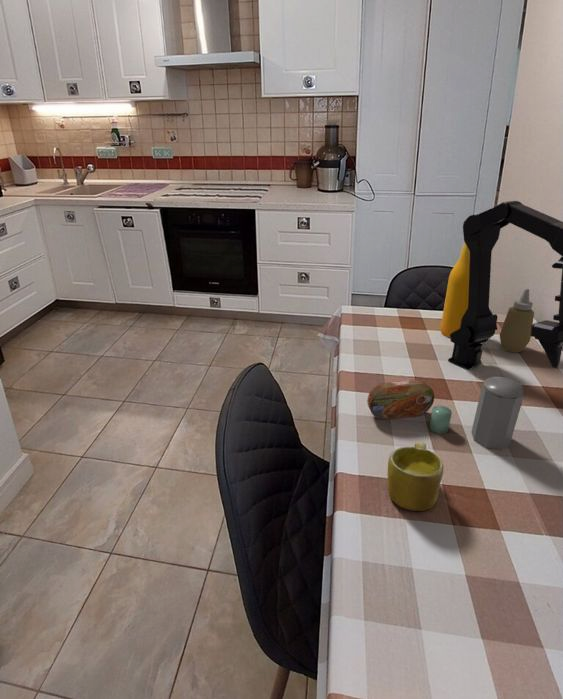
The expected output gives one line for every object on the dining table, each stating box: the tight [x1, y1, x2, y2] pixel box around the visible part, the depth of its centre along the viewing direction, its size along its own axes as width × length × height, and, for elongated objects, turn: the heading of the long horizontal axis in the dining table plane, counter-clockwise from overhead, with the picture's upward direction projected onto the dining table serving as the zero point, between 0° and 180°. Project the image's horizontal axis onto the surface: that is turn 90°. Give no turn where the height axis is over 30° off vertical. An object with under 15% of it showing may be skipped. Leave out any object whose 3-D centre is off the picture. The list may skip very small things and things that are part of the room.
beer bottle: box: [439, 242, 470, 338], centre depth 139 cm, size 9×9×29 cm
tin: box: [366, 379, 435, 421], centre depth 106 cm, size 15×3×8 cm, turn 99°
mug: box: [387, 440, 444, 512], centre depth 85 cm, size 12×10×10 cm
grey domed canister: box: [471, 376, 525, 450], centre depth 98 cm, size 7×7×13 cm
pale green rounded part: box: [429, 405, 453, 434], centre depth 103 cm, size 4×4×4 cm
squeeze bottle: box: [499, 288, 535, 353], centre depth 133 cm, size 8×8×18 cm
